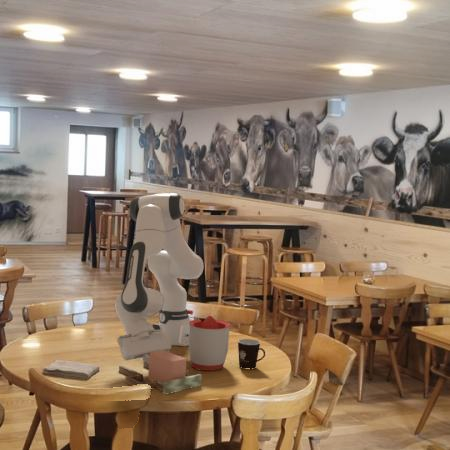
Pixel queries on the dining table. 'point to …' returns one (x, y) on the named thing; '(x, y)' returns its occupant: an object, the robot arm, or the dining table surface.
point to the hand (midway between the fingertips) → (154, 365)
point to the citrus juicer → (208, 343)
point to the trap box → (165, 386)
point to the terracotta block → (166, 366)
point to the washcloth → (71, 369)
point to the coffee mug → (249, 352)
